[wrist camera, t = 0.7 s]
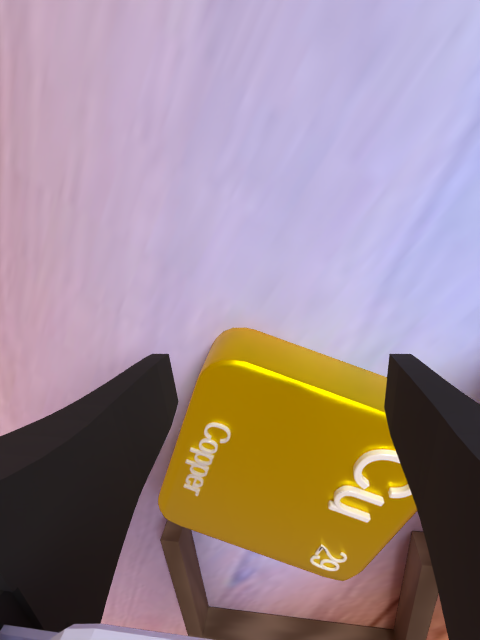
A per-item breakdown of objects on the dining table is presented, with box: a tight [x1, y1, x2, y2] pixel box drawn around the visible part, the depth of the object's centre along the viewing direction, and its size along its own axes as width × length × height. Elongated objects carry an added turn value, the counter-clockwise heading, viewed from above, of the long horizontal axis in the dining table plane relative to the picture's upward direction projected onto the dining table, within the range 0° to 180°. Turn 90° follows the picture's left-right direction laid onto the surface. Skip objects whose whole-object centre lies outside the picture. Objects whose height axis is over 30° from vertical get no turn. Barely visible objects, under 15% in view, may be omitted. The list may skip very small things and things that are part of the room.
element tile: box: [158, 328, 417, 581], centre depth 23 cm, size 15×15×5 cm
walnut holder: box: [160, 520, 438, 640], centre depth 31 cm, size 21×16×2 cm
